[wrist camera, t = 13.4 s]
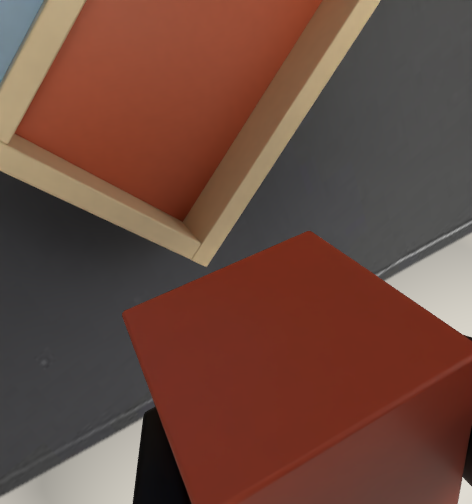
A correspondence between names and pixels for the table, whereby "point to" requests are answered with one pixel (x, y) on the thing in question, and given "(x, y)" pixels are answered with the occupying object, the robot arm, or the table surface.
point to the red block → (306, 383)
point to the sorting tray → (163, 103)
